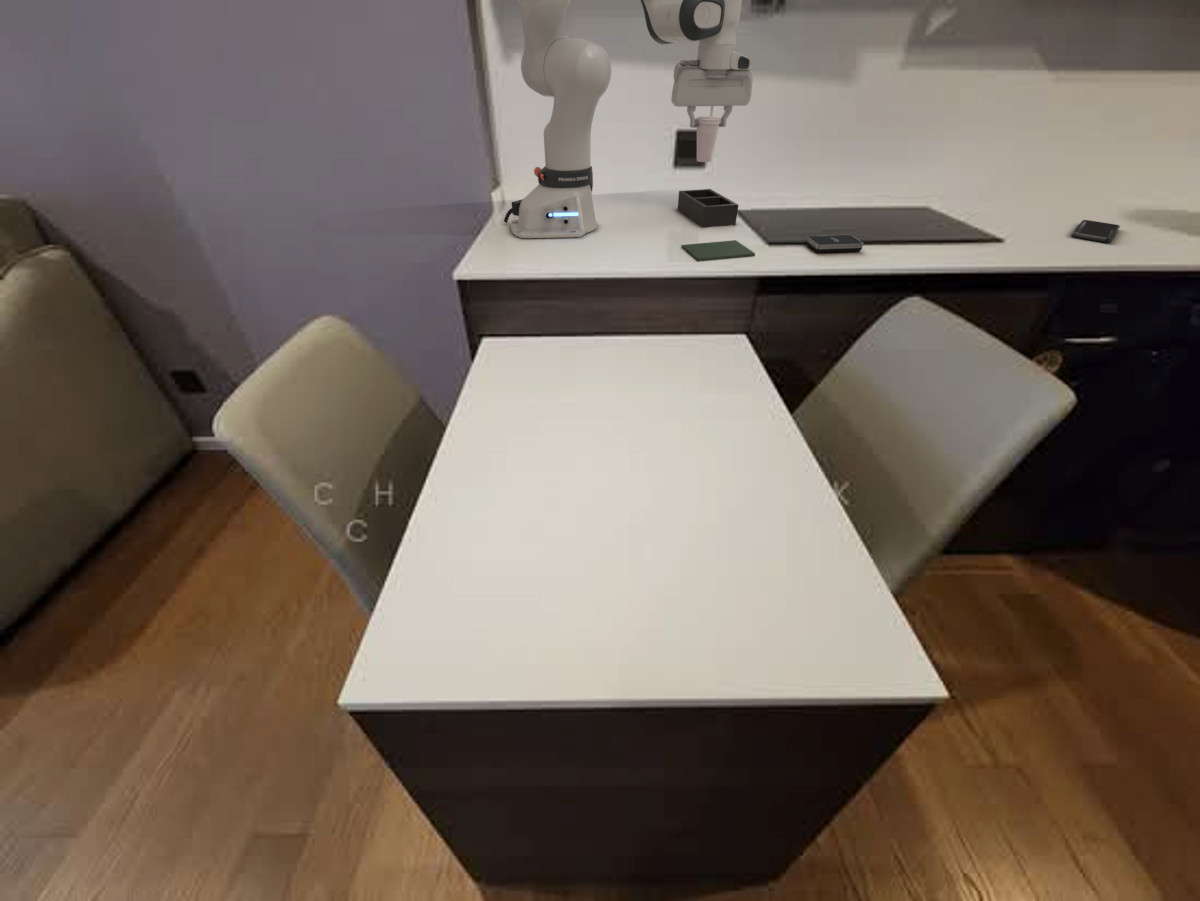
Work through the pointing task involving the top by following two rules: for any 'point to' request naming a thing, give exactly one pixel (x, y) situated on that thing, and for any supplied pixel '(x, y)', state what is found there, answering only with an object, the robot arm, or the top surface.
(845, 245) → the external hard drive
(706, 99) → the robot arm
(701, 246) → the mat
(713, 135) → the smoothie
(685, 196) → the holder
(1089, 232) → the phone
